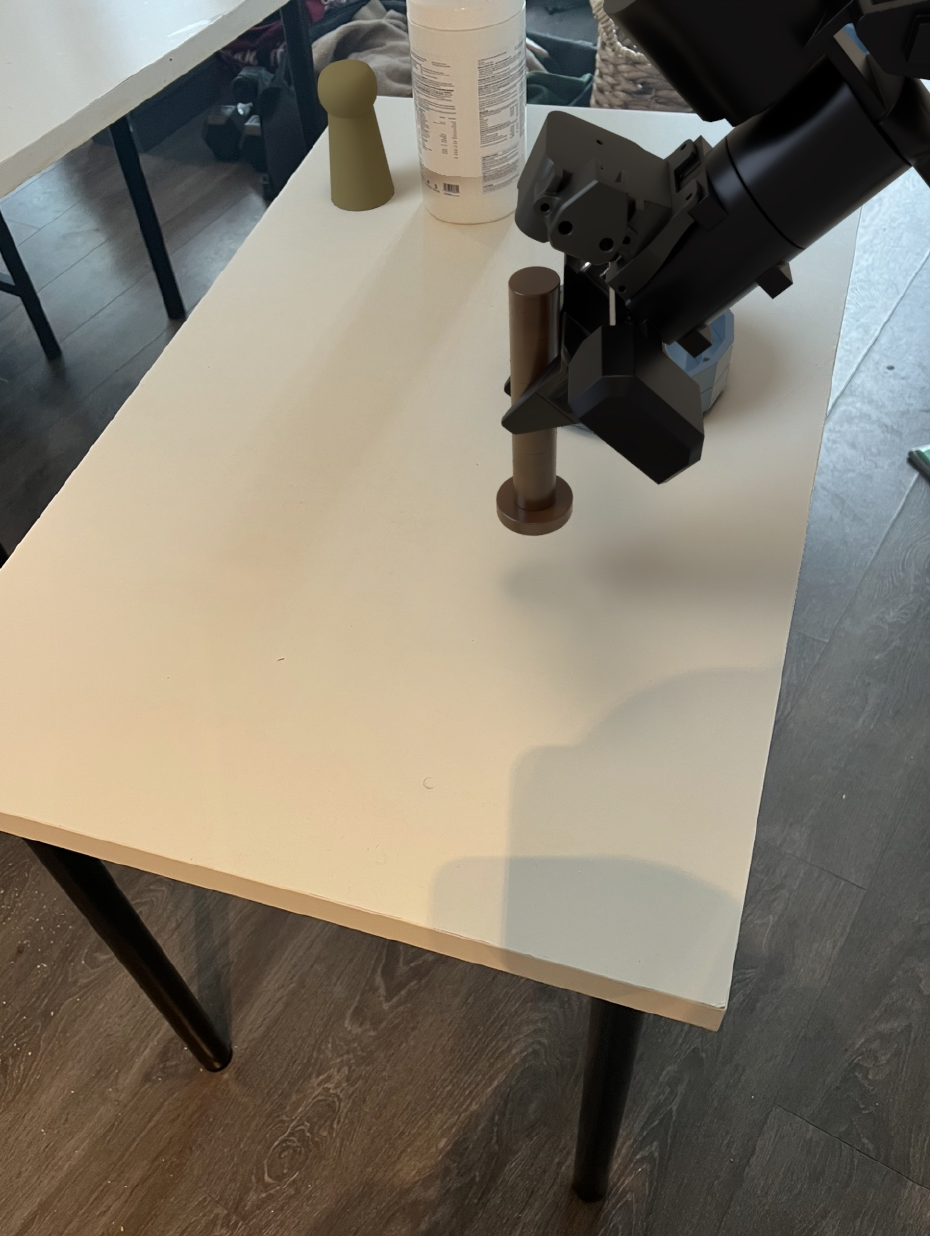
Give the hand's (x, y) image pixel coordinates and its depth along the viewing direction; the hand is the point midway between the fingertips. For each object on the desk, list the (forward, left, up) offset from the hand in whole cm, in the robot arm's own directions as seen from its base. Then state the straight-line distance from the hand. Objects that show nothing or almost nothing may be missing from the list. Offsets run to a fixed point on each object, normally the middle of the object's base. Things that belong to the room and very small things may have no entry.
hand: (508, 410), depth 51 cm
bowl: (-13, -17, -13) cm, 26 cm away
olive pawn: (+1, -51, -14) cm, 53 cm away
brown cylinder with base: (-1, 0, -7) cm, 7 cm away
